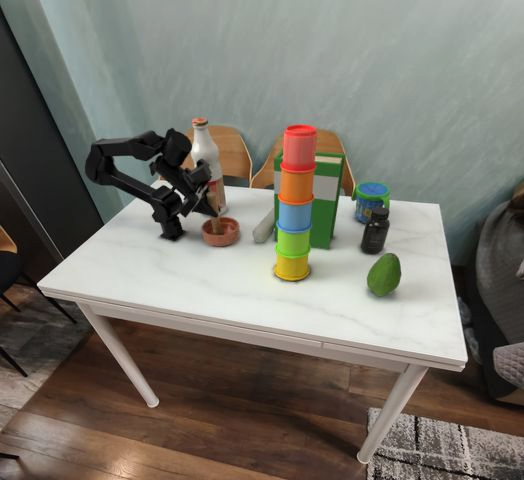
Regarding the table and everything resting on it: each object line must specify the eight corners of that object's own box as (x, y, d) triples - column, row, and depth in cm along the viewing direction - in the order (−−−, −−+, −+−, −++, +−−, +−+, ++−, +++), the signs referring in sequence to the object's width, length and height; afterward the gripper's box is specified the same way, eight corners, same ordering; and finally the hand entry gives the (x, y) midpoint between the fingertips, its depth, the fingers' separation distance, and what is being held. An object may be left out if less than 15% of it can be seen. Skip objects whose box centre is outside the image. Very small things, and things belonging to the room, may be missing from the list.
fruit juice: (231, 211, 113) (220, 119, 91) (210, 219, 110) (193, 126, 88) (218, 202, 118) (205, 113, 96) (197, 210, 114) (178, 119, 93)
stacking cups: (268, 266, 91) (264, 127, 64) (299, 257, 93) (307, 119, 66) (283, 286, 85) (286, 141, 58) (315, 275, 87) (332, 132, 60)
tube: (266, 235, 94) (295, 199, 108) (251, 227, 94) (282, 192, 108) (262, 248, 99) (291, 212, 112) (247, 240, 99) (278, 205, 112)
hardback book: (333, 237, 99) (345, 154, 81) (328, 249, 95) (340, 164, 76) (281, 229, 103) (282, 148, 85) (274, 240, 99) (273, 158, 81)
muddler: (213, 240, 99) (205, 198, 88) (210, 233, 101) (202, 191, 91) (226, 237, 99) (220, 195, 89) (222, 231, 102) (216, 189, 92)
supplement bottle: (386, 247, 94) (398, 209, 85) (375, 257, 91) (386, 219, 82) (367, 240, 97) (376, 202, 88) (355, 249, 94) (363, 211, 85)
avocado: (375, 306, 78) (388, 266, 69) (357, 288, 83) (367, 249, 74) (400, 296, 80) (417, 257, 71) (382, 279, 85) (394, 240, 75)
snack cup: (393, 225, 102) (402, 194, 94) (366, 233, 100) (374, 202, 92) (365, 205, 111) (372, 176, 103) (340, 212, 109) (345, 182, 101)
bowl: (196, 241, 101) (193, 230, 98) (217, 224, 107) (215, 213, 104) (226, 251, 97) (225, 239, 93) (246, 232, 103) (245, 221, 100)
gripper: (179, 166, 76) (227, 211, 84) (199, 141, 88) (240, 182, 95) (159, 197, 83) (205, 236, 91) (180, 170, 95) (219, 206, 102)
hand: (218, 214), depth 94 cm, fingers closed on muddler, 3 cm apart
